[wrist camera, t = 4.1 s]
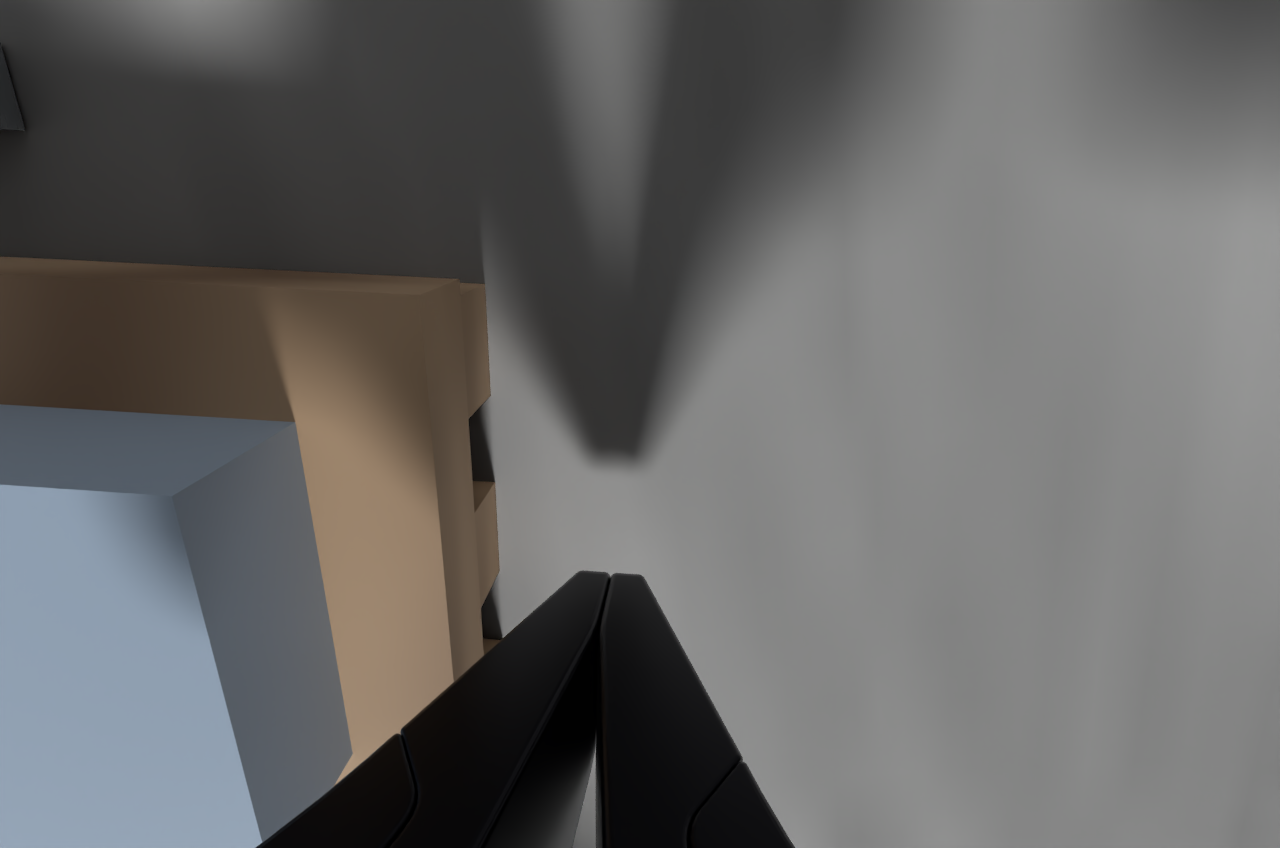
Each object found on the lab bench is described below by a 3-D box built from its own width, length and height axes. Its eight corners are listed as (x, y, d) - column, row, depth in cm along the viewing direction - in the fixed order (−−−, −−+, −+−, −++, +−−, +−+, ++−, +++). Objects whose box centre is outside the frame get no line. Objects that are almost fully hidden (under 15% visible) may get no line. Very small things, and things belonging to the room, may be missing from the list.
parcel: (295, 422, 7) (171, 496, 5) (352, 754, 9) (274, 887, 7) (-121, 397, 7) (-364, 459, 6) (17, 724, 9) (-135, 846, 7)
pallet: (489, 267, 9) (419, 295, 6) (510, 711, 11) (467, 838, 9) (-55, 241, 9) (-300, 258, 7) (96, 675, 12) (-40, 790, 10)
